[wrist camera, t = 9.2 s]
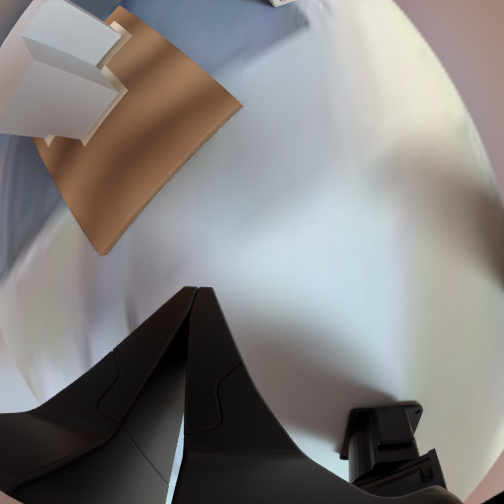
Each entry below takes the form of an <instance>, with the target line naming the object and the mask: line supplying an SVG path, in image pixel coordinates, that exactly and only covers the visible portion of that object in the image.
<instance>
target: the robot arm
mask: <svg viewBox="0 0 504 504" xmlns="http://www.w3.org/2000/svg"><path fill="white" fill-rule="evenodd" d="M416 410H418V411H416ZM422 412H423V408H422V406H421V405H409V406H398V407H383V408H359V409H352V410H351V411H350V412H349V415H348V419H347V424H346V429H345V433H344V438H343V442H342V446H341V450H340V459H342V460H349V482H347V481H345V480H344V479H342V478H340V477H339V476H337V475H335V474H334V473H332V472H330V471H329V470H327V469H326V468H324V467H322V466H321V465H319V464H318V463H316V462H315V461H313V460H312V459H310V458H309V457H308V456H307V455H305V454H304V453H303V452H302V451H301V450H300V448H299V447H298V446H297V445H296V444H295V443H294V441H293V440H292V439H291V438H290V436H289V435H288V433H287V432H286V431H285V429H284V428H283V426H282V425H281V424H280V422H279V421H278V419H277V418H276V417H275V415H274V414H273V412H272V411H271V410H270V408H269V407H268V405H267V404H266V402H265V401H264V399H263V397H262V396H261V394H260V393H259V391H258V389H257V388H256V386H255V384H254V382H253V380H252V378H251V376H250V374H249V372H248V369H247V367H246V365H245V363H244V361H243V359H242V356H241V354H240V352H239V349H238V347H237V345H236V342H235V340H234V338H233V335H232V333H231V331H230V328H229V326H228V324H227V321H226V319H225V316H224V314H223V312H222V309H221V307H220V304H219V302H218V299H217V297H216V294H215V292H214V289H213V288H212V287H199V289H198V287H192V286H185V287H183V288H182V289H181V290H180V291H179V292H177V293H176V294H175V295H174V296H173V297H172V298H171V299H169V300H168V301H167V302H166V303H165V304H164V305H163V306H161V307H160V308H159V309H158V310H157V311H156V312H155V313H153V314H152V315H151V316H150V317H149V318H148V319H147V320H145V321H144V322H143V323H142V324H141V325H140V326H139V327H138V328H136V329H135V330H134V331H133V332H132V333H131V334H130V335H129V336H127V337H126V338H125V339H124V340H123V341H122V342H121V343H120V344H118V345H117V346H116V347H115V348H114V349H113V351H111V352H109V353H108V354H107V355H106V356H105V357H104V358H103V359H102V360H100V361H99V362H98V363H97V364H96V365H95V366H93V367H92V368H91V369H90V370H89V371H87V372H86V373H85V374H83V375H82V376H81V377H79V378H78V379H77V380H76V381H74V382H73V383H71V384H70V385H69V386H67V387H66V388H65V389H63V390H62V391H60V392H59V393H58V394H56V395H55V396H54V397H52V398H51V399H49V400H48V401H47V402H45V403H44V404H42V405H41V406H39V407H37V408H35V409H32V410H30V411H26V412H20V413H0V504H165V503H166V498H167V493H168V487H169V485H168V484H169V482H170V477H171V472H172V467H173V462H174V457H175V452H176V447H177V442H178V437H179V433H180V428H181V423H182V419H183V414H184V447H183V457H182V462H181V466H180V470H179V474H178V478H177V482H176V486H175V490H174V494H173V498H172V502H171V504H463V502H462V501H461V500H460V499H459V498H458V497H457V496H455V495H454V494H452V493H451V492H449V491H448V489H447V485H446V482H445V478H444V475H443V472H442V469H441V465H440V462H439V459H438V456H437V453H436V450H435V448H434V449H432V450H430V451H428V453H426V454H424V455H422V456H420V455H419V451H418V448H417V444H416V440H415V437H414V433H415V430H416V428H417V425H418V423H419V420H420V417H421V415H422ZM353 414H356V415H353ZM481 504H504V490H503V491H501V492H499V493H498V494H496V495H494V496H493V497H491V498H489V499H488V500H486V501H484V502H483V503H481Z"/></svg>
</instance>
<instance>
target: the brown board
mask: <svg viewBox="0 0 504 504" xmlns="http://www.w3.org/2000/svg"><path fill="white" fill-rule="evenodd" d="M104 22H105V23H107V24H108V25H110V26H111V27H112V28H113V29H114V30H115V31H117V32H118V33H119V34H120V35H121V38H120V39H119V40H118V41H117V42H116V43H115V44H114V45H113V46H112V47H111V48H110V50H109V51H108V52H107V53H106V54H105V55H104V56H103V58H102V59H101V60H100V61H99V62H98V64H97V65H96V67H97V68H98V69H99V70H100V71H101V73H102V74H103V75H104V76H105V77H106V78H107V80H108V81H109V82H110V83H111V84H112V85H113V86H114V88H115V89H116V90H117V91H118V92H119V94H118V95H117V96H116V98H115V99H114V100H113V101H112V102H111V104H110V105H109V106H108V107H107V109H106V110H105V111H104V113H103V114H102V115H101V117H100V118H99V119H98V121H97V122H96V123H95V125H94V126H93V127H92V129H91V130H90V132H89V133H88V134H87V136H86V137H85V139H84V140H80V139H74V138H68V137H62V136H55V135H47V137H46V138H38V137H32V139H33V141H34V144H35V146H36V148H37V150H38V152H39V154H40V156H41V158H42V160H43V162H44V164H45V166H46V168H47V170H48V172H49V173H50V175H51V177H52V179H53V181H54V183H55V185H56V186H57V188H58V190H59V192H60V194H61V195H62V197H63V199H64V200H65V202H66V204H67V206H68V207H69V209H70V211H71V212H72V214H73V216H74V217H75V219H76V221H77V222H78V224H79V225H80V227H81V229H82V230H83V232H84V233H85V235H86V236H87V238H88V239H89V241H90V242H91V244H92V246H93V247H94V249H95V250H96V251H97V253H98V254H99V256H103V255H106V254H108V253H109V251H110V250H111V249H112V247H113V246H114V245H115V243H116V242H117V241H118V240H119V238H120V237H121V236H122V235H123V233H124V232H125V231H126V230H127V228H128V227H129V226H130V225H131V223H132V222H133V221H134V220H135V219H136V217H137V216H138V215H139V214H140V213H141V211H142V210H143V209H144V208H145V207H146V205H147V204H148V203H149V202H150V201H151V200H152V199H153V197H154V196H155V195H156V194H157V193H158V192H159V191H160V189H161V188H162V187H163V186H164V185H165V184H166V183H167V182H168V181H169V179H170V178H171V177H172V176H173V175H174V174H175V173H176V172H177V171H178V170H179V169H180V168H181V167H182V166H183V164H184V163H185V162H186V161H187V160H188V159H189V158H190V157H191V156H192V155H193V154H194V153H195V152H196V151H197V150H198V149H199V148H200V147H201V146H202V145H203V144H204V143H205V142H206V141H207V140H208V139H209V138H210V137H211V136H212V135H213V134H214V133H215V132H216V131H217V130H218V129H219V128H220V127H221V126H222V125H223V124H225V123H226V122H227V121H228V120H229V119H230V118H231V117H232V116H233V115H234V114H235V113H236V112H237V111H239V110H240V109H241V108H242V107H243V106H242V105H241V104H240V103H239V102H238V101H237V100H236V99H235V98H234V97H233V96H232V95H231V94H230V93H229V92H228V91H227V90H225V89H224V88H223V87H222V86H221V85H220V84H219V83H218V82H217V81H215V80H214V79H213V78H212V77H211V76H210V75H209V74H208V73H206V72H205V71H204V70H203V69H202V68H201V67H199V66H198V65H197V64H196V63H195V62H194V61H192V60H191V59H190V58H189V57H188V56H186V55H185V54H184V53H183V52H181V51H180V50H179V49H178V48H177V47H175V46H174V45H173V44H172V43H170V42H169V41H168V40H166V39H165V38H164V37H163V36H161V35H160V34H159V33H157V32H156V31H155V30H153V29H152V28H151V27H149V26H148V25H147V24H145V23H144V22H143V21H141V20H140V19H138V18H137V17H136V16H134V15H133V14H131V13H130V12H128V11H127V10H126V9H124V8H123V7H121V6H120V5H119V6H118V7H117V8H116V9H115V10H114V11H113V12H112V13H111V14H110V16H109V17H108V18H107V19H106V20H105V21H104Z"/></svg>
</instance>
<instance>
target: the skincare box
mask: <svg viewBox="0 0 504 504" xmlns="http://www.w3.org/2000/svg"><path fill="white" fill-rule="evenodd" d="M269 1H270V3H271V4H272V5H273V6H274V7H278V6H281V5H284V4H287V3H290V2H293V1H295V0H269Z"/></svg>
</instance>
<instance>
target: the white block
mask: <svg viewBox="0 0 504 504" xmlns="http://www.w3.org/2000/svg"><path fill="white" fill-rule="evenodd" d="M120 38H121V35H120V34H119V33H118V32H117V31H115V30H114V29H113V28H112V27H111V26H110V25H108V24H107V23H105V22H103V21H102V20H100V19H99V18H97V17H95V16H94V15H92V14H91V13H89V12H87V11H86V10H84V9H82V8H80V7H79V6H77V5H76V4H74V3H72V2H70V1H68V0H33V2H32V3H31V4H30V5H29V7H28V8H27V9H26V11H25V12H24V13H23V15H22V16H21V17H20V19H19V20H18V22H17V23H16V25H15V26H14V27H13V29H12V31H11V32H10V33H9V35H8V36H7V38H6V40H5V41H4V43H3V44H2V46H1V48H0V133H1V134H11V135H21V136H30V137H38V138H46V137H47V135H55V136H62V137H68V138H74V139H80V140H84V139H85V137H86V136H87V134H88V133H89V132H90V130H91V129H92V127H93V126H94V125H95V123H96V122H97V121H98V119H99V118H100V117H101V115H102V114H103V113H104V111H105V110H106V109H107V107H108V106H109V105H110V104H111V102H112V101H113V100H114V99H115V98H116V96H117V95H118V94H119V92H118V91H117V90H116V89H115V88H114V86H113V85H112V84H111V83H110V82H109V81H108V80H107V78H106V77H105V76H104V75H103V74H102V73H101V71H100V70H99V69H98V68H97V67H96V65H97V64H98V62H99V61H100V60H101V59H102V58H103V56H104V55H105V54H106V53H107V52H108V51H109V50H110V48H111V47H112V46H113V45H114V44H115V43H116V42H117V41H118V40H119V39H120Z"/></svg>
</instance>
